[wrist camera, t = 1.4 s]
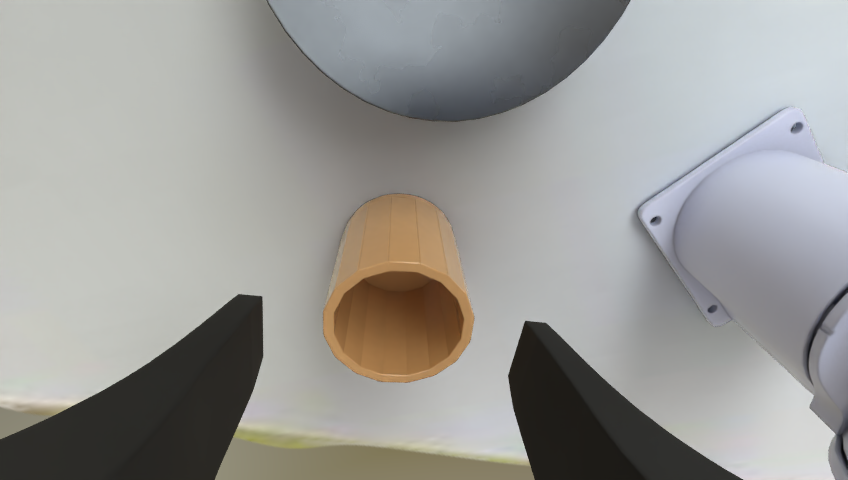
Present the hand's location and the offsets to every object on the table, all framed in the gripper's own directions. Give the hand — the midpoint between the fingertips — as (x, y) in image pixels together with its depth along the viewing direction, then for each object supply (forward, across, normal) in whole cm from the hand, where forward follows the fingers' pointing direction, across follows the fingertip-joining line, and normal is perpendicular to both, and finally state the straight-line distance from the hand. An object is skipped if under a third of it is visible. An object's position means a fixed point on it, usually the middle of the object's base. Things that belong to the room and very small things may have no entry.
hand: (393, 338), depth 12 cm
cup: (+10, 0, +2) cm, 11 cm away
